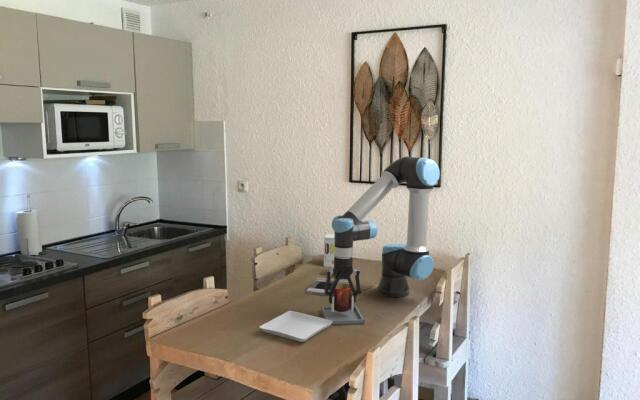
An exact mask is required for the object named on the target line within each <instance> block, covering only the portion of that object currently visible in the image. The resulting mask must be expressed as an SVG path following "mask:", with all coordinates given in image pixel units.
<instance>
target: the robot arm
mask: <svg viewBox="0 0 640 400" xmlns="http://www.w3.org/2000/svg"><path fill="white" fill-rule="evenodd" d="M440 173H441V171H440V168H439V166H438V164H437V163H436V161H435V160H433V159H431V158H427V157H415V156H414V157H413V156H402V157H400V158H397V159H396V160H395V161H393V162H392V163H390V164H389V165H388V166H387V167H386V168H385V169H384V170H382V171H381V174H380V177H378V179H377V180H376V181H374V183H373V184H372V185H371V186H370V187H369V188H368V189H367V190H366V191H365V192H364V193H363V194H362V196H360V197H359V198H358V199H357V200H356V202H354V203H353V204H352V206H351V207H350V208H348V209H347V211H346V212H345V213H343V215H340V214H339V215H336V216H334V217H333V218H332V220H331V228H332V230H333V232H334V233H333V234H334V255H335V257H334V268H333V270H332V269H331V270H329V269H326V271H325V272H326V273H325V274H326V278H325V279H326V285H325V291H324V292H325V294H326V295H329V296H328V303H329V304H330V307H331V311H332V312H334V295H333V293H334V291H335V288H336V286H337V283H338V282H339V280H340V281H341V280H346V281H348V282H349V285H350V288H351V295H350V297H351V305H350V309H351V311H353V308H354V306H355V303H357V295H361V293H362V292H361V291H362V290H361V285H360V284H361V283H360V282H361V281H360V273H361V272H360V270H359V269H357V268H356V269H354V268H353V253H354V252H353V251H354V250H353V249H354V242H357V241H366V240H371V239H374V238H376V236H377V235H378V225H377V223H375V221H373V220H365V221H364V219H365V217H367V215H369V213H371V212H372V210H373V209H374V208H375V207H376V206H377V205H378V204H379V203H380V202H381V201H382V200H383V199H384V198H385V197H386V196H387V195H388V194H389V193H390V192H391V191H392V189H393V188H398V187H399V186H400V185H402V184H404V183H406V189H407V190H408V191H409V194H408V195H409V199H408V200H409V201H408V214H407V217H408V218H407V231H406V232H407V234H406V235H407V236H406V244H405V243H391V244H386V245H384V246H383V247H382V251H381V252H382V253H381V277H380V280H379V282H378V284H377V285H378V286H377V293H378V295H382V296H386V297H391V298H392V297H393V298H399V297H405V296H409V295H410V294H411V293H410V291H411V289H410V285H409V282H408V277H409V278H411V279H413V280H418V281H422V280H426V279H427V278H428V277H429V276H430V275H432V273H433V270H434V267H435V261H434V259H433V257H432V256H431V255H430V248H429V247H428V246H427V234H428V219H429V204H430V201H429V200H430V192H432V191H433V190H434V186H436V184H437V183H438V181H439V180H440V175H441V174H440ZM333 274H334V275H335V276H334V279H333V280H334V282H333V284H332V286H331V289H330V291H329V286H330V279H331V280H332V278H331V276H333ZM352 274H354V279H355V287H356V290H355V287H354V283H353V282H352V279H351V275H352Z"/></svg>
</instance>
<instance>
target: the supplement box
mask: <svg viewBox="0 0 640 400" xmlns="http://www.w3.org/2000/svg"><path fill="white" fill-rule="evenodd" d="M323 238H324V240H323V241H324V242H323V243H324V244H323V245H324V246H323V267H329V268H332V262H331V261H332V260H333V259H334V257H335V255H334V233H326V235H325V236H324V237H323Z"/></svg>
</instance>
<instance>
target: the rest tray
mask: <svg viewBox="0 0 640 400" xmlns="http://www.w3.org/2000/svg"><path fill="white" fill-rule="evenodd" d="M321 313H322V315H323V319H327V320H331V321H332V324H331V325H330V326H332V325H334V326H351V325H352V326H354V325H355V326H357V325H365V319H364V317H363V314H361V312H360V310H359V308H358V307H357V305H354V308H353V311H351V309H349V310H348V311H346V312H337V311H335V310H334V312H332V311H331V306H321ZM330 326H329V327H330Z"/></svg>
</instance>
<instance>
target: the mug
mask: <svg viewBox="0 0 640 400" xmlns="http://www.w3.org/2000/svg"><path fill="white" fill-rule="evenodd" d="M331 286H332V285H331ZM351 294H352V290H351V288H350V285H349V284H348V283H337V286H336V288H335V291H334V293H333V295H334V310H335V311H337V312H346V311H348V310H349V309H350V305H351Z"/></svg>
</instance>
